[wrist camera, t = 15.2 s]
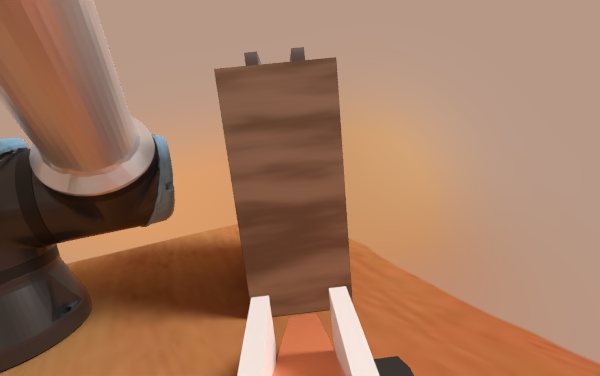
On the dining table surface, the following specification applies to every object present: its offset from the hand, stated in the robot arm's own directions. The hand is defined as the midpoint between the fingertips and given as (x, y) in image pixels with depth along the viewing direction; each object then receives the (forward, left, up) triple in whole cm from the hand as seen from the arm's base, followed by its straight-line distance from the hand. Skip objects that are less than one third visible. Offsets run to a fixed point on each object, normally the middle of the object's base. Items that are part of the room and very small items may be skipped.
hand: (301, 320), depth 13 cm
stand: (-22, +19, -14) cm, 32 cm away
